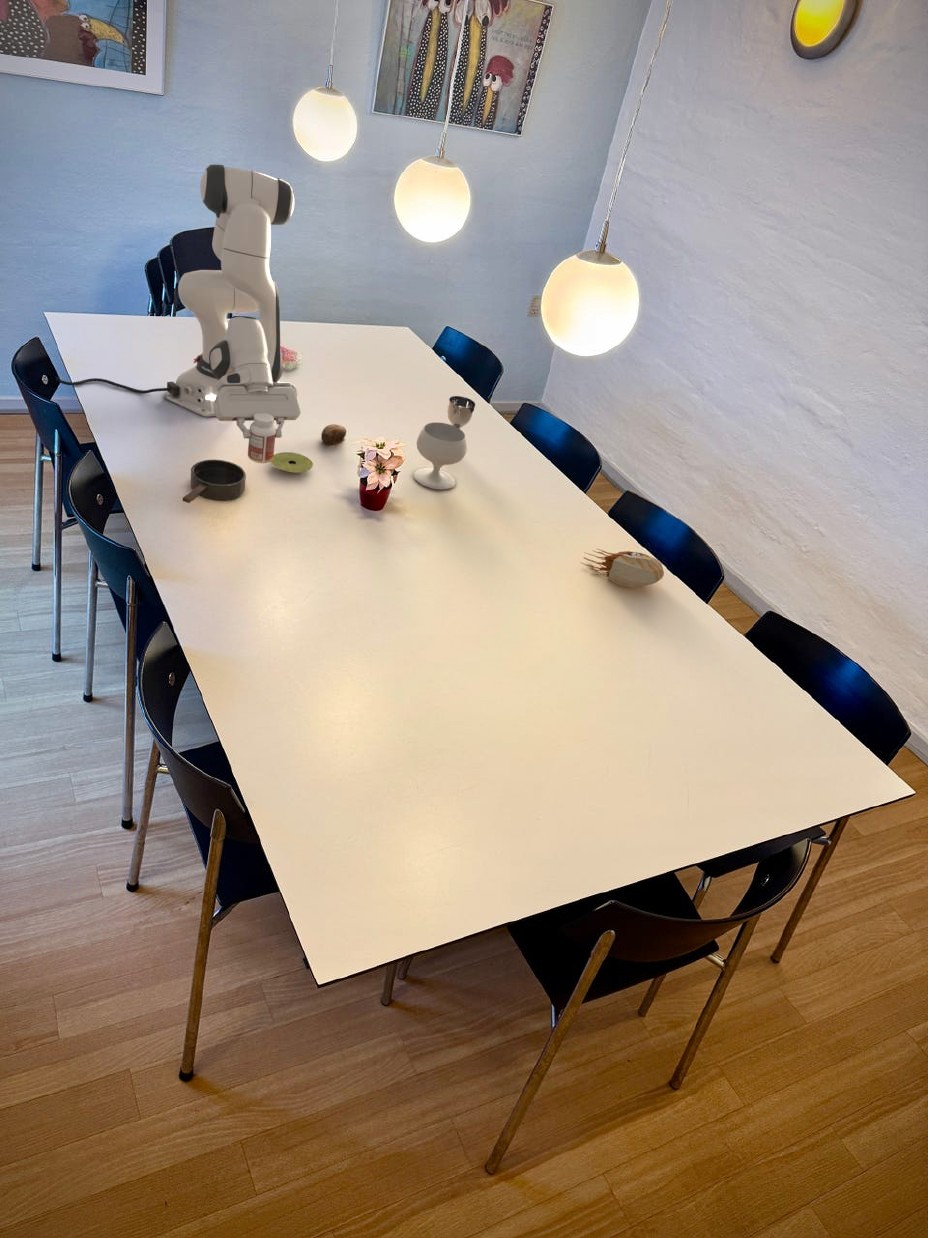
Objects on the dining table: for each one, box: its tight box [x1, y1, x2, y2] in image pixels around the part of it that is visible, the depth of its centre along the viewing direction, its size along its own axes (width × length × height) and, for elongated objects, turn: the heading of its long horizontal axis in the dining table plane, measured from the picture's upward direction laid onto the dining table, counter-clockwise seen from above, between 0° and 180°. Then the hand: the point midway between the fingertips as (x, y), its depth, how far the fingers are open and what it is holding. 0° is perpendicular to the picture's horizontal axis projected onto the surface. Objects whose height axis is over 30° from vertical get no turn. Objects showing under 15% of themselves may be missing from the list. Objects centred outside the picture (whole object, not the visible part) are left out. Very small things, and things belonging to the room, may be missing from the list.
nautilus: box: [579, 548, 665, 589], centre depth 228 cm, size 8×22×15 cm
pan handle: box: [182, 483, 208, 504], centre depth 212 cm, size 2×9×1 cm, turn 165°
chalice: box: [413, 421, 468, 490], centre depth 247 cm, size 14×14×15 cm
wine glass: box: [447, 395, 476, 430], centre depth 267 cm, size 8×8×15 cm
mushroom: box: [320, 423, 347, 447], centre depth 255 cm, size 8×8×6 cm
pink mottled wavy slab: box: [280, 345, 303, 372], centre depth 288 cm, size 30×15×5 cm, turn 158°
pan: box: [190, 459, 247, 502], centre depth 222 cm, size 13×13×4 cm
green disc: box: [270, 451, 314, 473], centre depth 239 cm, size 11×11×2 cm
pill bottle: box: [247, 413, 277, 464], centre depth 214 cm, size 6×6×11 cm
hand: (262, 437), depth 213 cm, fingers closed on pill bottle, 6 cm apart
